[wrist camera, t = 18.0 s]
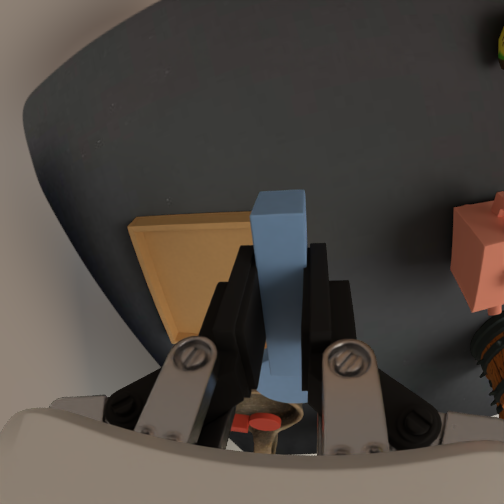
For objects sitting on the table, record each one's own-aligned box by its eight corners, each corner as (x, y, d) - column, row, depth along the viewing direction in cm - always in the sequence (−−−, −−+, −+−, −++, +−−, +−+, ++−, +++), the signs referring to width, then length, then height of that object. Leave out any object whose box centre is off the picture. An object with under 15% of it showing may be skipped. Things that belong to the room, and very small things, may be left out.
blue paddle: (222, 193, 10) (204, 218, 9) (342, 187, 9) (350, 212, 8) (257, 388, 16) (251, 419, 14) (331, 390, 15) (330, 421, 13)
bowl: (297, 345, 35) (291, 419, 27) (314, 410, 44) (310, 465, 36) (193, 349, 39) (170, 413, 31) (233, 411, 48) (222, 461, 39)
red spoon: (199, 416, 37) (196, 428, 35) (193, 402, 35) (189, 415, 33) (280, 426, 35) (279, 439, 34) (281, 413, 33) (280, 428, 31)
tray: (176, 331, 37) (171, 343, 36) (136, 216, 28) (126, 226, 27) (299, 338, 34) (298, 352, 33) (295, 209, 26) (295, 220, 24)
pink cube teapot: (444, 287, 27) (469, 347, 21) (448, 180, 21) (494, 228, 15) (501, 274, 25) (533, 327, 18) (514, 171, 19) (566, 212, 12)
